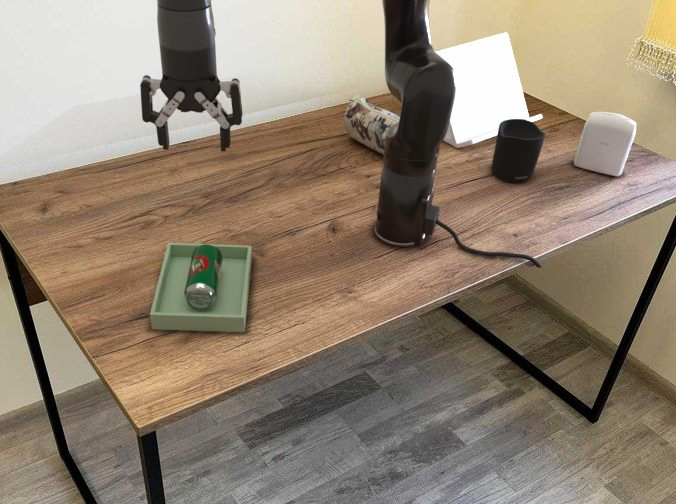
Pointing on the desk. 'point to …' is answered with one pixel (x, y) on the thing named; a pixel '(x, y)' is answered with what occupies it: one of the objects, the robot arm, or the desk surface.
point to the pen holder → (517, 150)
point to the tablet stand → (484, 89)
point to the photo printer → (605, 143)
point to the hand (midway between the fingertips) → (195, 148)
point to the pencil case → (368, 123)
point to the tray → (231, 294)
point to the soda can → (203, 277)
